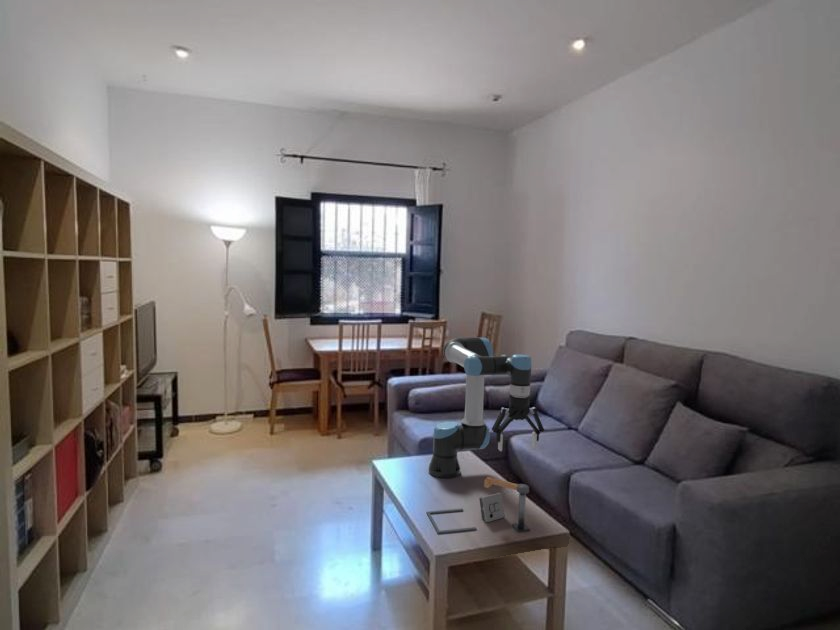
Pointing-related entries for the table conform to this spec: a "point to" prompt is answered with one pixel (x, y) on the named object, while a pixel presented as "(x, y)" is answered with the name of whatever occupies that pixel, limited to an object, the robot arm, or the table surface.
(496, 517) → the electrical switch
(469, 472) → the table surface
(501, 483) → the lever
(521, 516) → the mast
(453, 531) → the bay
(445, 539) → the table surface
